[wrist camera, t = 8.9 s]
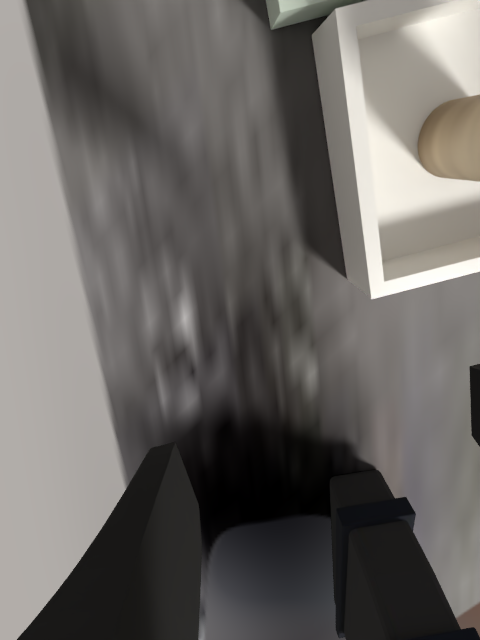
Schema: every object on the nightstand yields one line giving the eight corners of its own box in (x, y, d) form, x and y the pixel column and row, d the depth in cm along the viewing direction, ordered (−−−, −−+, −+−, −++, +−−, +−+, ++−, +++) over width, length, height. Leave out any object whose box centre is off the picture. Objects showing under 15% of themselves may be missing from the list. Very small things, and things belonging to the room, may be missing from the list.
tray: (565, -31, 16) (643, -72, 13) (552, 226, 19) (610, 237, 17) (311, 35, 16) (335, 8, 13) (347, 279, 20) (371, 299, 17)
